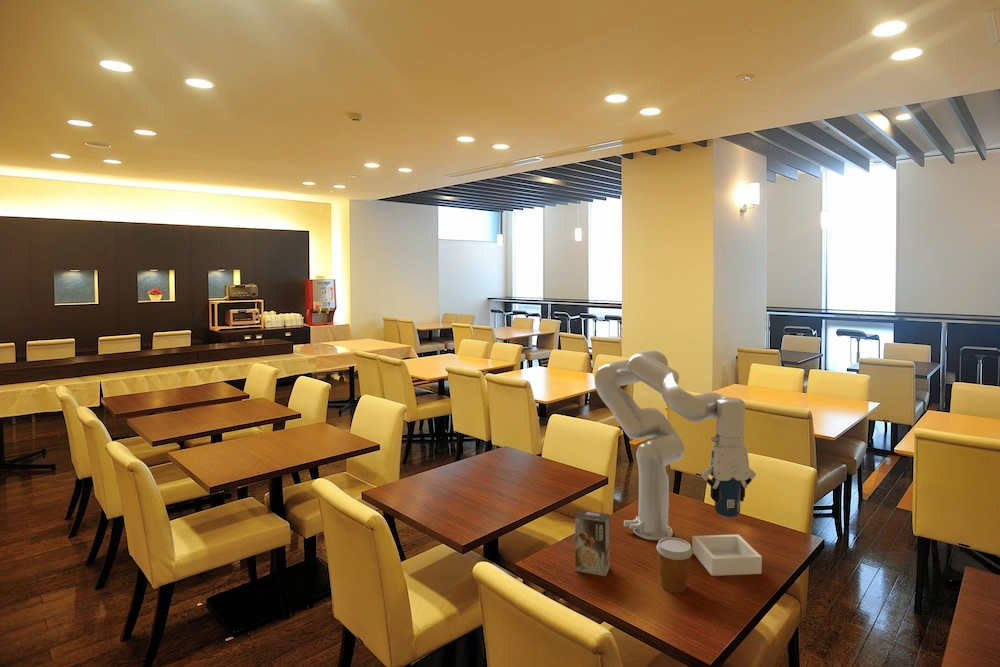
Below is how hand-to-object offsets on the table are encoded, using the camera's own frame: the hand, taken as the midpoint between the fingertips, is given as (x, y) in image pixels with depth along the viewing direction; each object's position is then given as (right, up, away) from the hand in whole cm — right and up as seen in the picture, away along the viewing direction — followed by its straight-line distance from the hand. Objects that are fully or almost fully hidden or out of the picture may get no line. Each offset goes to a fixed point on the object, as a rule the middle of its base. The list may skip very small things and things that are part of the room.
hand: (727, 499), depth 171 cm
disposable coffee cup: (-19, -21, -11) cm, 30 cm away
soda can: (0, -4, 0) cm, 5 cm away
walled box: (0, -19, +2) cm, 19 cm away
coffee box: (-40, -20, -1) cm, 44 cm away
